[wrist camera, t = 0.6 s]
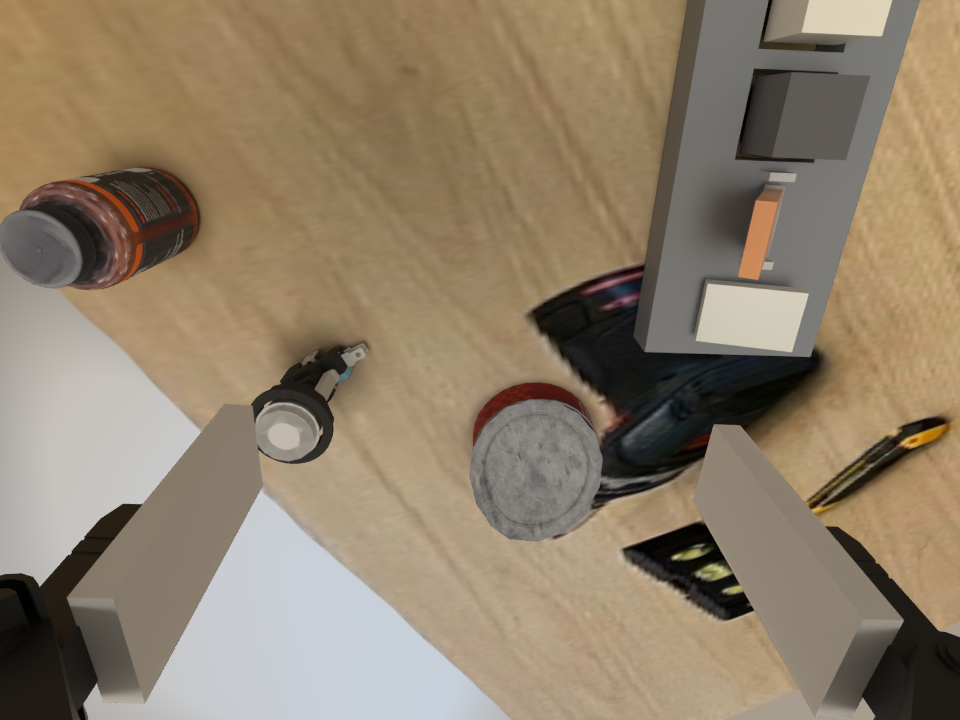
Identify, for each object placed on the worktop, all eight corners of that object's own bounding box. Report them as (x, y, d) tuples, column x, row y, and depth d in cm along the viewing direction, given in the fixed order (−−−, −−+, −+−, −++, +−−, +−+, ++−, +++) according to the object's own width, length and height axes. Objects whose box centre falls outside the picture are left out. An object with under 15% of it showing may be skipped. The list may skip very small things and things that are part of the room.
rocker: (705, 278, 37) (707, 283, 36) (803, 288, 36) (808, 293, 35) (693, 334, 38) (695, 340, 37) (787, 345, 37) (791, 352, 36)
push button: (348, 315, 41) (314, 373, 32) (386, 372, 43) (363, 443, 34) (274, 354, 42) (220, 420, 33) (314, 408, 44) (274, 485, 35)
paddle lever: (765, 183, 35) (754, 196, 28) (786, 184, 34) (780, 198, 28) (748, 252, 36) (735, 280, 30) (768, 255, 36) (759, 283, 29)
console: (702, -89, 31) (736, -119, 27) (908, -78, 32) (971, -106, 28) (633, 336, 42) (650, 359, 38) (788, 341, 42) (821, 364, 38)
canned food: (470, 412, 50) (421, 434, 41) (564, 355, 47) (534, 365, 37) (533, 524, 49) (498, 574, 39) (635, 474, 45) (623, 515, 36)
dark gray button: (755, 76, 33) (792, 72, 29) (825, 80, 33) (870, 75, 29) (739, 152, 34) (771, 157, 31) (805, 155, 34) (845, 160, 31)
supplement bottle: (123, 148, 36) (-16, 163, 26) (213, 193, 37) (115, 223, 27) (102, 230, 38) (-35, 274, 28) (188, 270, 39) (87, 325, 29)
